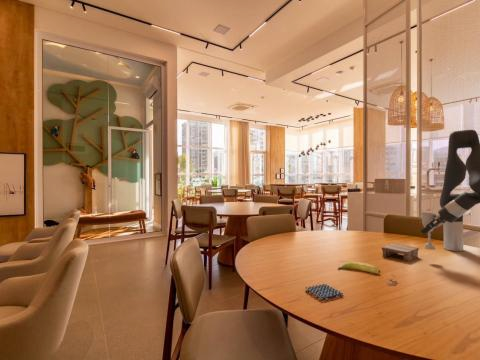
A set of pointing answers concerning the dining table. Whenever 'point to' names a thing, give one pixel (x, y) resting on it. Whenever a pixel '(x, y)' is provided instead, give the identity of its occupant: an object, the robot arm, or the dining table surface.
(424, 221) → the chalice
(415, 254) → the square lamp base
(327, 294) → the blue patterned piece
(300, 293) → the dining table surface
